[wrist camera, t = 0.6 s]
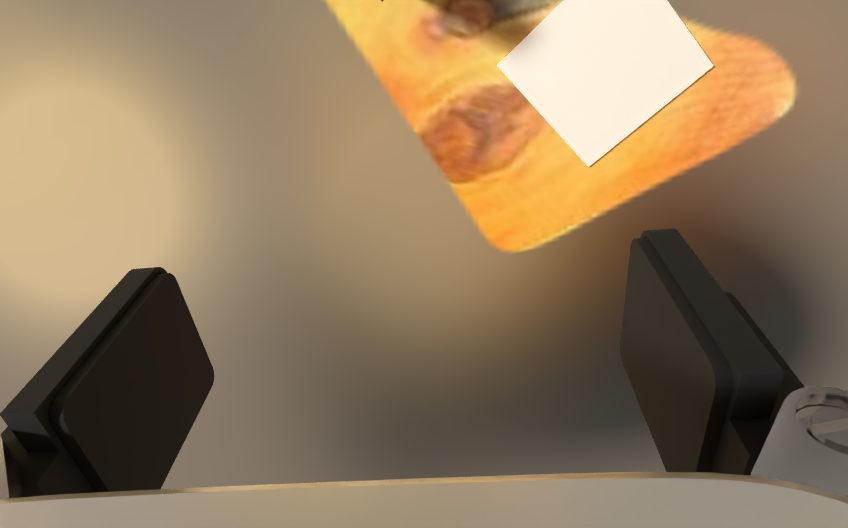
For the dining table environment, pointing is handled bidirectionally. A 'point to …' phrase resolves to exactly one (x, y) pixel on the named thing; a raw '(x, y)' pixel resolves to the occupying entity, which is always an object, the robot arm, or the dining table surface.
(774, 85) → the dining table surface
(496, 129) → the dining table surface
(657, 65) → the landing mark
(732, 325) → the robot arm
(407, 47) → the dining table surface
